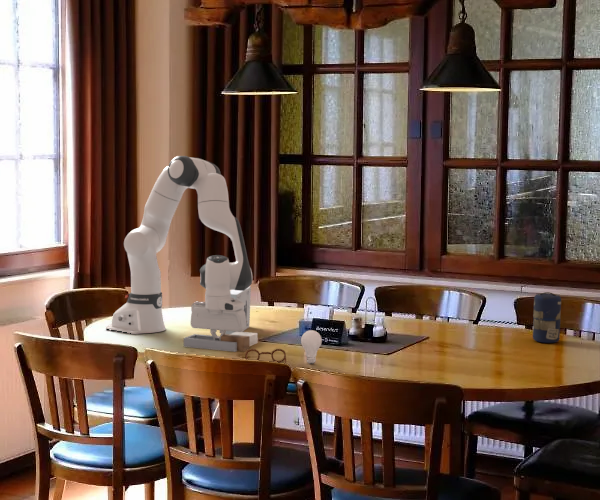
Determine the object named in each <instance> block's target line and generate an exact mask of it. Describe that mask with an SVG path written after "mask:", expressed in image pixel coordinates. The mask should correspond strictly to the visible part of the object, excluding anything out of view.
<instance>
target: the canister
mask: <svg viewBox="0 0 600 500" xmlns="http://www.w3.org/2000/svg"><path fill="white" fill-rule="evenodd" d="M533 299H534V300H533V314H532V316H533V324H532V325H533V326H532V340H534V341H536V342H537V343H538V342H540V343H547V344H551V343H552V344H553V343H554V344H555V343H558V342H559V341H560V338H561V337H560V333H561V332H560V331H561V312H562V311H561V310H562V297H561V296H560V295H559V294H555V293H553V292H548V291H546V292H545V291H544V292H541V293H537V294H535V295H534V297H533Z"/></svg>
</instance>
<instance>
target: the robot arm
mask: <svg viewBox="0 0 600 500" xmlns="http://www.w3.org/2000/svg"><path fill="white" fill-rule="evenodd" d="M187 189H193V190H196V194H197V210H198V219H199V220H200V222H201V223H202V224H203V225H204V226H206V227H207V228H209V229H211V230H213V231H217V232H219V233H222V234H224V235H226V236H227V237H228V238H230V241H231V242H232V247H233V251H234V256H235V261H233V262H230V260H229V257H227V256H225V255H220V254H215V255H210V256H208V257H206V262H205V264H203V265H202V266H201V267H200V269H199V273H200V275H199V276H200V280H199V286H201V287H203V288H204V289H205V291H204V295H205V296H204V301H195V302H193V303H192V304H191V314H190V315H191V316H190V326H191V328H193V329H202V330H209V331H210V332H209V333H210V334H211V335H210V336H213V340H217V341H221V336H222V335H225V333H226V331H234V332H242V331H243V332H245V329H246V315H245V312H244V310H243V309H242V308H244V303H243V302H241V301H238V300H236V299H234V298H232V297H231V292H230V290H240V291H244V290H246V289H247V288H248V287H251V285H252V283H253V272H252V268H251V266H250V262H249V259H248V254H247V249H246V245H245V239H244V236H243V235H244V234H243V231H242V227H241V224H240V221H239V219H238V217H235V216H234V215H233V213H232V211H231V208H230V200H229V191H228V186H227V180H226V178H225V177H224V176H223V175H222V174H221V171H220V168H219V167H218V166H217V165H216V164H215V163H213V162H211V161H208V160H204V159H202V158H199V157H190V156H187V155H177V156H175V157H174V158H172V159H171V160H170V162H169V164H168V165H167V166H166V167H164V168H163V170H162V171H161V173H160V174H159V176H158V177H157V179H156V180H155V183H154V185H153V187H152V189H151V191H150V194H149V196H148V198H147V200H146V203H145V205H144V208H143V210H144V211H143V216H142V220H141V223H140V226H139V227H137V228H134V229H132V230H131V231H130V232H128V233H127V235H126V236H125V238H124V241H123V247H124V251H125V252H126V255H127V259H128V264H129V269H130V291H131V292H129V293H127V294H125V295H124V296H125V297H124V299H126V303H124V304H123V305H122V306H121V307H119V308H118V309H117V310H115V312H114V313H112V314H113V315H112V320H111V323H110V324H108V325H106V326H105V330H106V329H111V330H117V331H122V332H121V333H123V332H127V333H126V334H130V333H131V335H138V334H151V333H153V334H154V333H161V332H163V331H166V330H167V329H166V325H165V321H164V315H163V310H162V309H163V308H162V307H163V292H162V275H161V274H162V271H161V269H160V267H159V263H158V258H157V254H158V253H159V252H160V251H161V250H162V249H163V248H164V247H165V245H166V243H167V238H168V234H169V231H170V227H171V224H172V223H171V222H172V220H173V218H174V216H175V214H176V211H177V209H178V207H179V204H180V202H181V201H182V197H183V195H184V192H185V191H186V190H187ZM111 330H110V331H111ZM246 330H247V329H246ZM117 331H116V332H117ZM217 331H219V336H220V337H217V336H218V335H217V333H216V332H217Z"/></svg>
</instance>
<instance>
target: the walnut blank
mask: <svg viewBox="0 0 600 500" xmlns="http://www.w3.org/2000/svg"><path fill="white" fill-rule="evenodd" d="M221 341H227V342H237V351H238V352H247V351H248V350H250V349H251V348H250V347H251V346H250V336H242V335H231V334H225V335H222V336H221ZM237 351H236V352H237Z"/></svg>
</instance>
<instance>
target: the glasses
mask: <svg viewBox="0 0 600 500" xmlns="http://www.w3.org/2000/svg"><path fill="white" fill-rule="evenodd" d="M250 352H255V353H256V354H257V358H256V360H258V361H260V357H261V355H269V356H270V355H271V360H272V361H273V362H274V361H277V362H276V363H283V362H284V364H285V363H286V364H287V353H286V351H285V350H284V349H281V348H275V349H274V350H273V351H271V352H270V351H261V352H260V351H259V350H258V349H256V348H250V349H249V350H246V351H245V355H244V357H245V360H246V359H248V360H249V358H248V354H249V353H250ZM276 352H282V353H283V358H282V359H281V360H276V359H275V358H274V354H275V353H276Z"/></svg>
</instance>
